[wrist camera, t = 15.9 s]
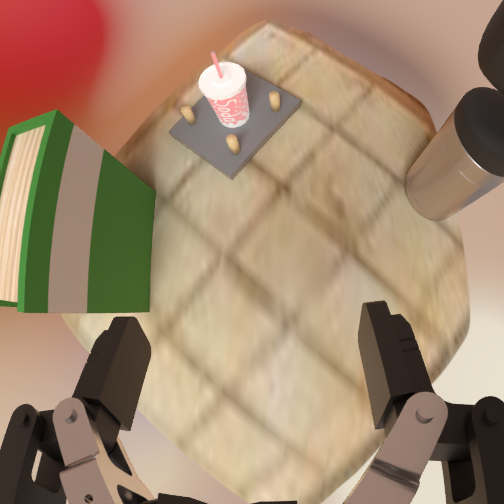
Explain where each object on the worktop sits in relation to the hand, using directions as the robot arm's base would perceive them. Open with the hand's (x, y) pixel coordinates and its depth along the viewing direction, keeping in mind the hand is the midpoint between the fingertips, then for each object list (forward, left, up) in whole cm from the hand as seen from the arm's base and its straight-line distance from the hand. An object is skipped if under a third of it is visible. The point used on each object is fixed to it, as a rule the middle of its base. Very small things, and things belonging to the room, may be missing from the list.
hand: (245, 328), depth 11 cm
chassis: (-1, -29, -31) cm, 42 cm away
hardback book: (+19, -13, -31) cm, 39 cm away
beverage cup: (-1, -29, -29) cm, 41 cm away
